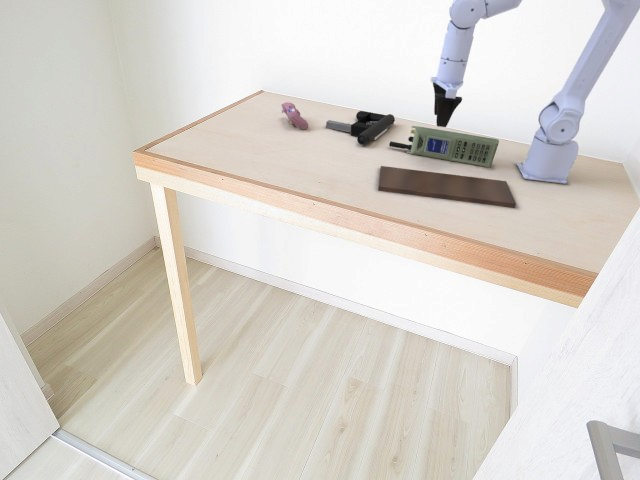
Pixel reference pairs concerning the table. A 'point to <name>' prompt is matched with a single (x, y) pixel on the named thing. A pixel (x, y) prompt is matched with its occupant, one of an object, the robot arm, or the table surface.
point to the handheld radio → (451, 146)
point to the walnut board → (446, 186)
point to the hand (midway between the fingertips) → (439, 120)
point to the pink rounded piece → (294, 115)
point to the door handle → (365, 126)
